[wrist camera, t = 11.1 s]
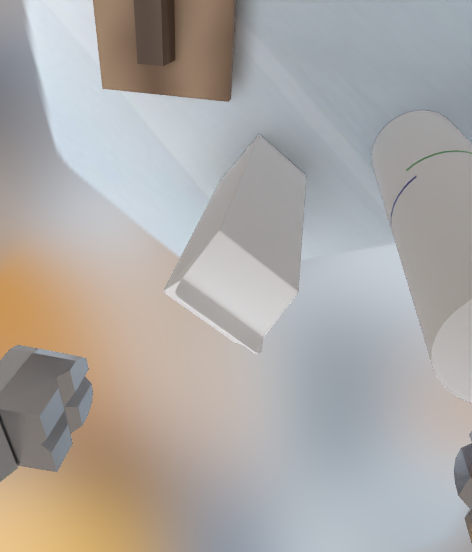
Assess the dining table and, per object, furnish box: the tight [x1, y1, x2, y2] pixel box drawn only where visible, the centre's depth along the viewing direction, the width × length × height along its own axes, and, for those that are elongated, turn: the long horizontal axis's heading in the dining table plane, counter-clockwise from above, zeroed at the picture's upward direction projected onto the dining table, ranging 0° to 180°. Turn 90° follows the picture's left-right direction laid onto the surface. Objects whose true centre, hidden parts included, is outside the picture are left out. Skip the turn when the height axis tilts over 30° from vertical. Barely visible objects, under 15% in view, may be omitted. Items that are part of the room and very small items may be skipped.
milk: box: [163, 135, 306, 354], centre depth 32 cm, size 6×6×22 cm
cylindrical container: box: [372, 110, 472, 403], centre depth 27 cm, size 7×7×25 cm
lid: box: [93, 0, 236, 102], centre depth 29 cm, size 10×10×4 cm
